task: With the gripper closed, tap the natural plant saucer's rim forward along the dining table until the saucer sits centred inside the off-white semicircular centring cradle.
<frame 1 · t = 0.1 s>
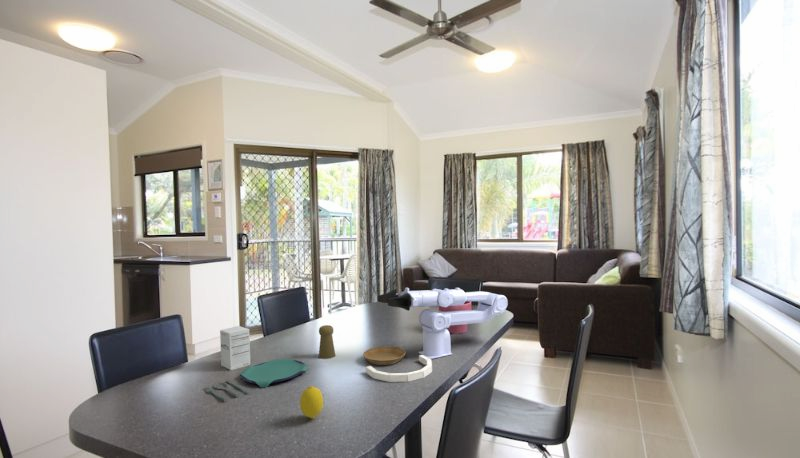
hand: (383, 300, 136), 22 cm above the table, tool horizontal, fingers open, 7 cm apart
cork: (327, 356, 147), on the table
plant pot: (455, 331, 175), on the table
centring cradle: (399, 369, 132), on the table
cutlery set: (259, 381, 127), on the table
lemon: (312, 419, 100), on the table
supplement box: (236, 366, 140), on the table
plant saucer: (384, 360, 142), on the table
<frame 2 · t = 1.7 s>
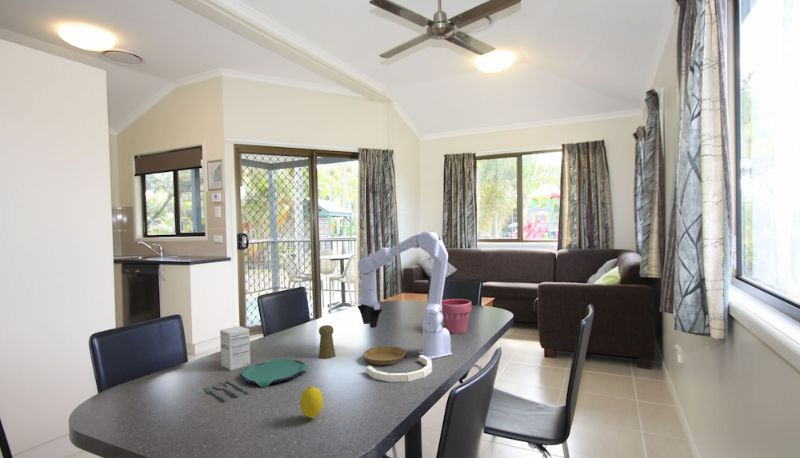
hand: (369, 325, 152), 9 cm above the table, tool pointing down, fingers open, 6 cm apart
nothing on the table moved.
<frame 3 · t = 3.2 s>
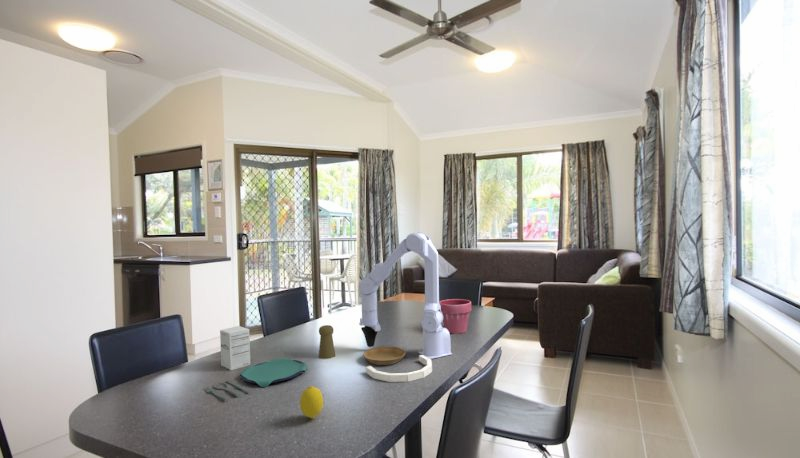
hand: (370, 346, 152), 2 cm above the table, tool pointing down, fingers closed
nothing on the table moved.
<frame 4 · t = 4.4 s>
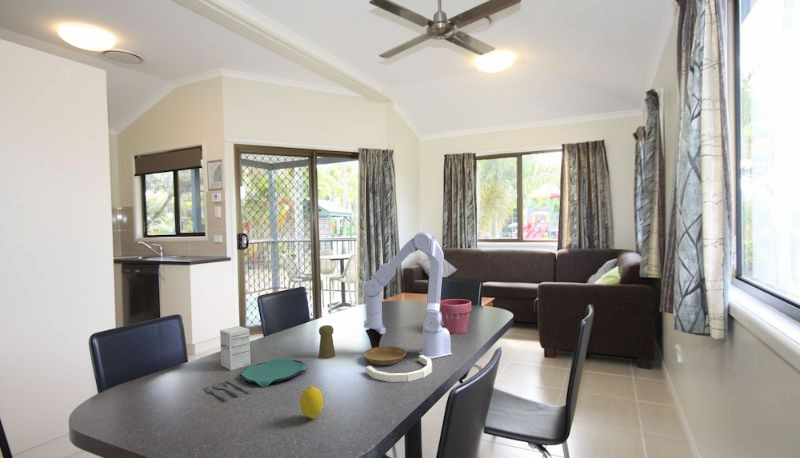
hand: (375, 349, 148), 2 cm above the table, tool pointing down, fingers closed
plant saucer: (385, 360, 141), on the table, touching gripper
everything else where it was.
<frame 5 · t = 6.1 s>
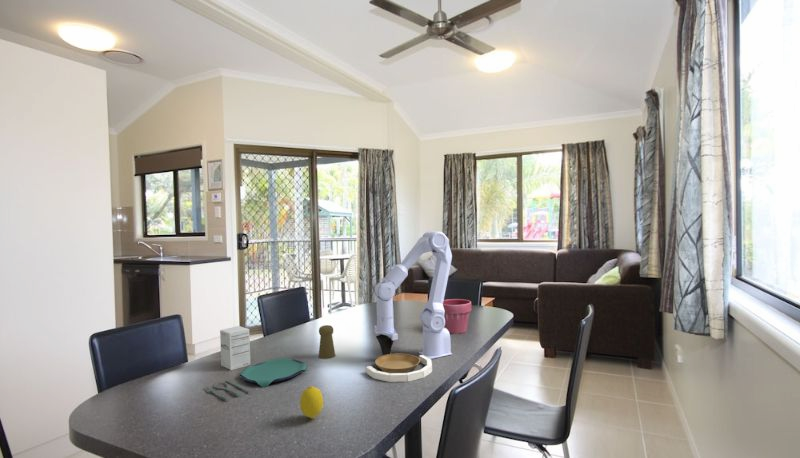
hand: (386, 356, 140), 2 cm above the table, tool pointing down, fingers closed
plant saucer: (397, 368, 133), on the table, touching gripper
everything else where it was.
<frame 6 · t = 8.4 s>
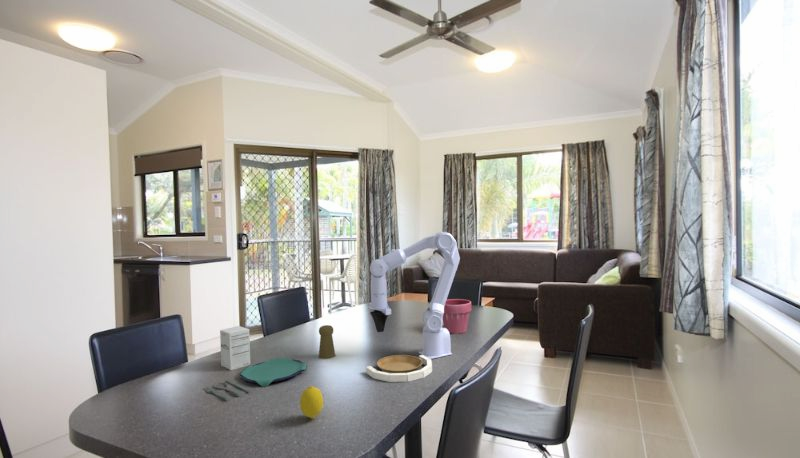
hand: (380, 331, 144), 9 cm above the table, tool pointing down, fingers closed
plant saucer: (400, 370, 132), on the table
everything else where it was.
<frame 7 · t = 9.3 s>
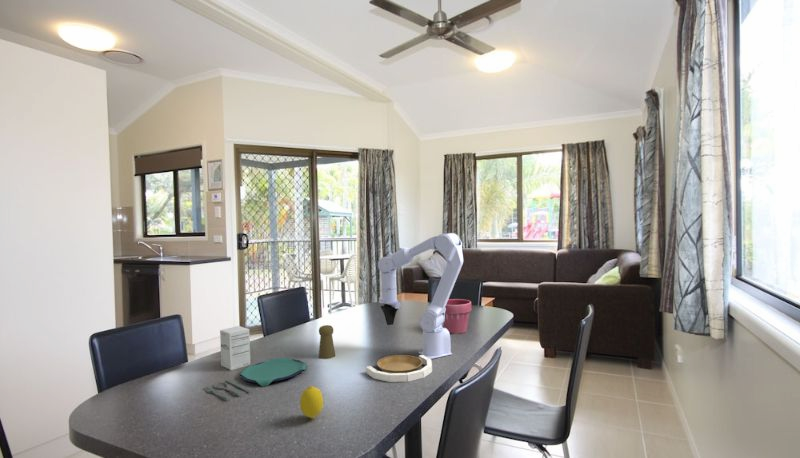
hand: (390, 324, 153), 9 cm above the table, tool pointing down, fingers closed
nothing on the table moved.
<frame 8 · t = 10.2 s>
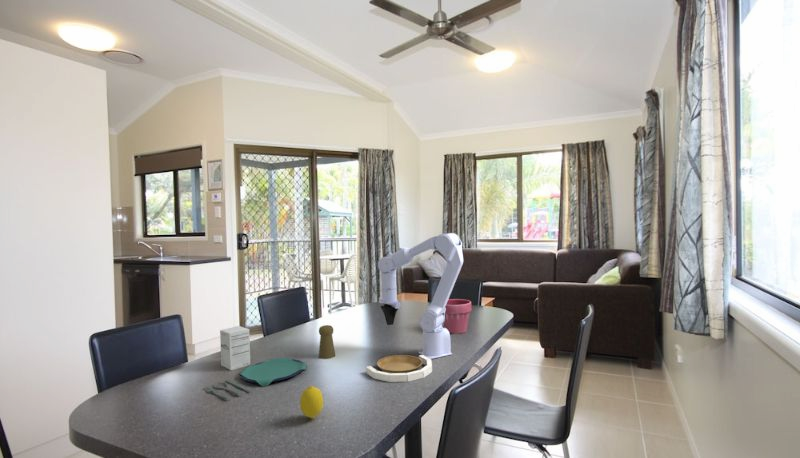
hand: (390, 324, 153), 9 cm above the table, tool pointing down, fingers closed
nothing on the table moved.
at the end: plant saucer 0.3 cm from the centring cradle (horizontally); plant saucer tilted 0°; plant saucer moved 11.3 cm from its start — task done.
